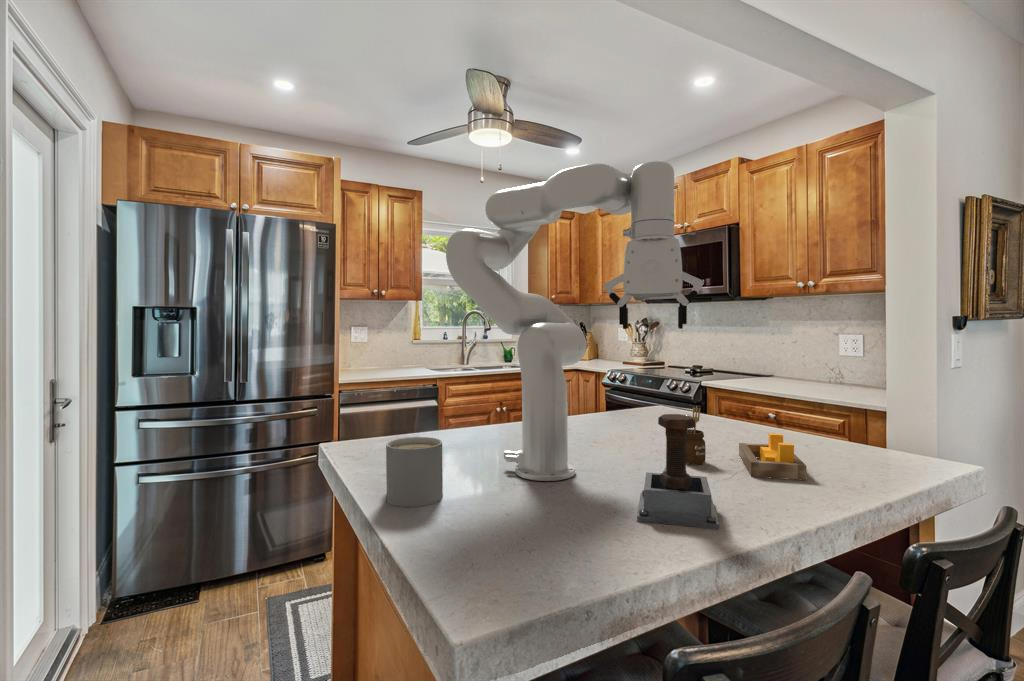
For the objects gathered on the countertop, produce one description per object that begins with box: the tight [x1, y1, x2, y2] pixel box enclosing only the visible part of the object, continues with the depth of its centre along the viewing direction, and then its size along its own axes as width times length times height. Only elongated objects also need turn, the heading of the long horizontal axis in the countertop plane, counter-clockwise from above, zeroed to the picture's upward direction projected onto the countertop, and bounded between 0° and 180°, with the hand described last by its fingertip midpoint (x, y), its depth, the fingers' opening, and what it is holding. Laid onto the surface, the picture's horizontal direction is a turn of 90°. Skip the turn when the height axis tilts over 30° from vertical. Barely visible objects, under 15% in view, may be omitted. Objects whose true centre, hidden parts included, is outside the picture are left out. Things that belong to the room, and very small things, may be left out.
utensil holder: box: [686, 406, 707, 466], centre depth 115 cm, size 6×6×12 cm
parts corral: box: [738, 442, 807, 481], centre depth 110 cm, size 10×18×3 cm, turn 163°
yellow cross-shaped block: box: [759, 432, 795, 463], centre depth 110 cm, size 12×4×6 cm, turn 163°
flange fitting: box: [636, 466, 720, 530], centre depth 87 cm, size 12×18×5 cm, turn 163°
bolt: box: [657, 413, 695, 491], centre depth 83 cm, size 6×5×15 cm
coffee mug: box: [385, 436, 444, 508], centre depth 93 cm, size 13×10×10 cm
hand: (652, 328), depth 92 cm, fingers open, 9 cm apart
